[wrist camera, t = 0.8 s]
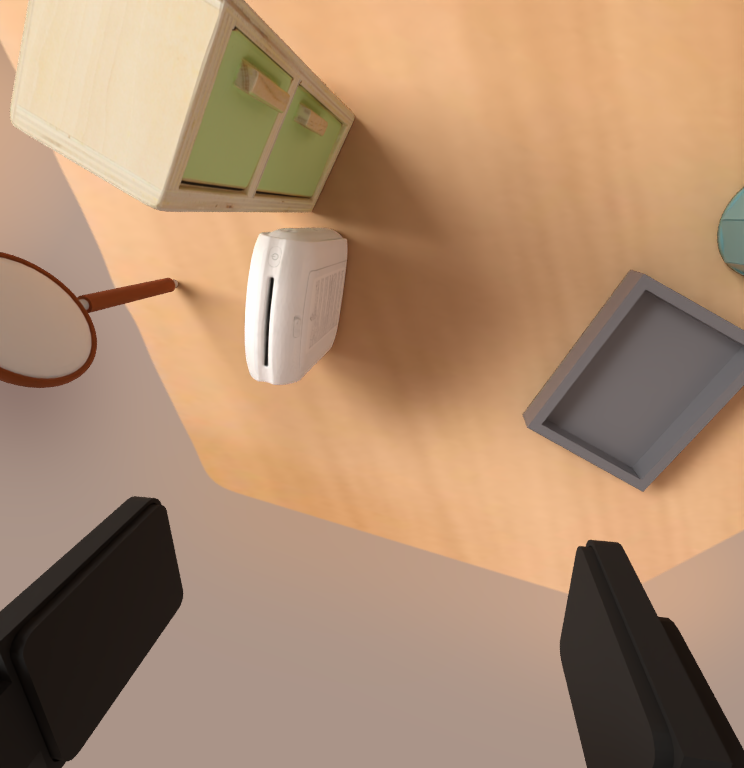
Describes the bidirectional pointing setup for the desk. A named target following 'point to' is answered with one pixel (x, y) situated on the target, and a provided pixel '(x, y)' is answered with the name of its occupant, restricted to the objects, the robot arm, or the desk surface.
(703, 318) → the tray
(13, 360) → the magnifying glass
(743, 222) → the cup
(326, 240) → the photo printer
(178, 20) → the toy refrigerator
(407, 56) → the desk surface
